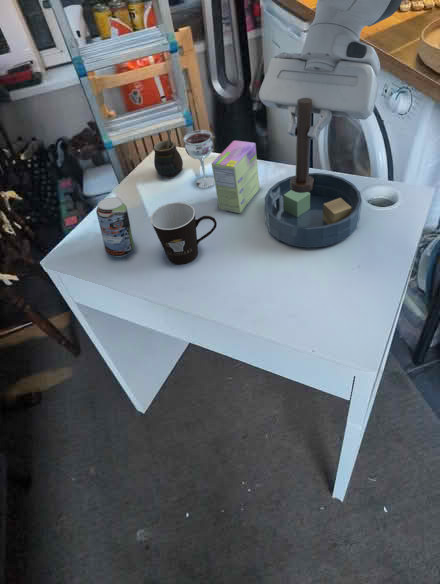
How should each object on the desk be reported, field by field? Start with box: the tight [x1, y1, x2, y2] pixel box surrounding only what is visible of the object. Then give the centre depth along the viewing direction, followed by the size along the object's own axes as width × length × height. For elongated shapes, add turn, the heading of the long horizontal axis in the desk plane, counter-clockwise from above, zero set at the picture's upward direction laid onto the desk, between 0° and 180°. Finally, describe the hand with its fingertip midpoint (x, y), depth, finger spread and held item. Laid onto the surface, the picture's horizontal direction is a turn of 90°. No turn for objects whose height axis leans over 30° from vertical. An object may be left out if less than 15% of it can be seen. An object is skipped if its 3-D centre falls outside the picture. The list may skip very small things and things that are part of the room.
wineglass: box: [182, 129, 215, 189], centre depth 103 cm, size 7×7×12 cm
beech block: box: [323, 198, 352, 225], centre depth 88 cm, size 4×4×4 cm
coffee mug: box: [150, 201, 218, 266], centre depth 86 cm, size 12×9×10 cm
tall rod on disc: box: [290, 98, 314, 193], centre depth 77 cm, size 4×4×16 cm
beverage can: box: [95, 196, 135, 258], centre depth 89 cm, size 6×7×12 cm
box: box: [211, 140, 260, 214], centre depth 97 cm, size 10×6×12 cm, turn 152°
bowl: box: [263, 172, 363, 249], centre depth 90 cm, size 19×19×6 cm
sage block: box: [283, 190, 310, 217], centre depth 93 cm, size 4×4×4 cm
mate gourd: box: [152, 129, 184, 179], centre depth 109 cm, size 7×8×10 cm
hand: (302, 136), depth 75 cm, fingers closed on tall rod on disc, 2 cm apart
